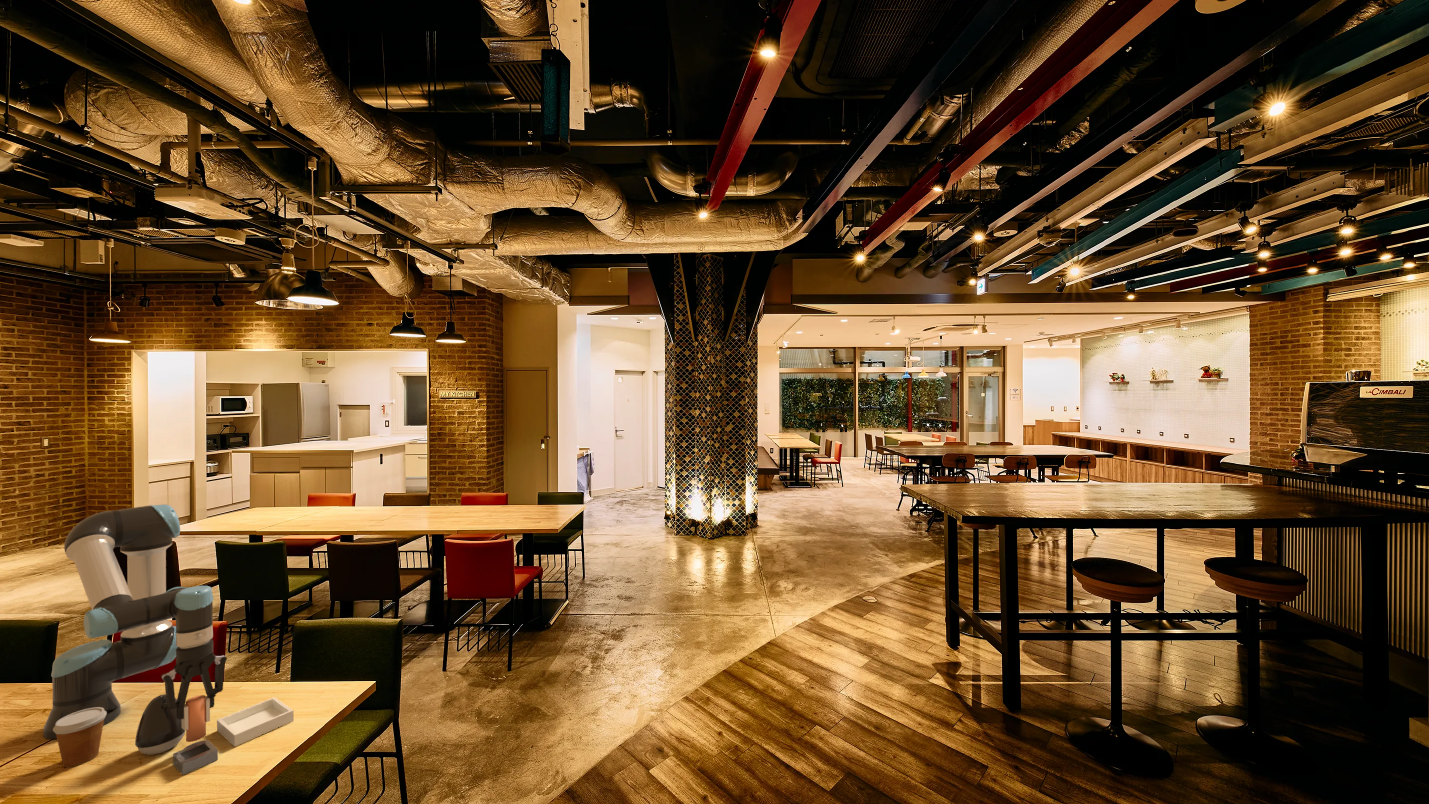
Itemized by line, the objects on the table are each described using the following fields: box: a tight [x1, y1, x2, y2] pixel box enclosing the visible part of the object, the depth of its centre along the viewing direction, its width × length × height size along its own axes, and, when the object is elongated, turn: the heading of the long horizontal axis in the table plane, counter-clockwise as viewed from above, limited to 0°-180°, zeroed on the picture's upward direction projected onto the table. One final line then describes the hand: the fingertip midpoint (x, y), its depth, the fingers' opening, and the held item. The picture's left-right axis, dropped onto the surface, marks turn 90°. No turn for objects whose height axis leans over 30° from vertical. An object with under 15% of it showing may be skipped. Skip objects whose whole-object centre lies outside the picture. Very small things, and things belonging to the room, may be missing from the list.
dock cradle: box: [216, 696, 295, 748], centre depth 160 cm, size 14×14×3 cm
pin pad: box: [183, 739, 206, 749], centre depth 149 cm, size 6×6×1 cm
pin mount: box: [172, 738, 219, 776], centre depth 144 cm, size 8×7×3 cm
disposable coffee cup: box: [53, 707, 107, 768], centre depth 145 cm, size 10×10×12 cm
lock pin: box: [185, 694, 207, 743], centre depth 149 cm, size 4×4×11 cm
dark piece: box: [134, 693, 186, 756], centre depth 149 cm, size 10×10×15 cm
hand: (195, 724), depth 149 cm, fingers closed on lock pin, 4 cm apart
